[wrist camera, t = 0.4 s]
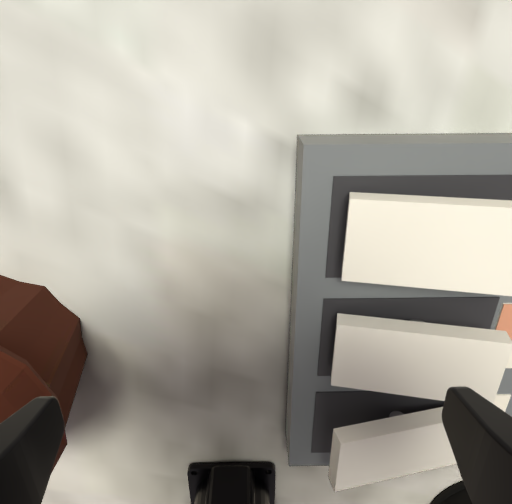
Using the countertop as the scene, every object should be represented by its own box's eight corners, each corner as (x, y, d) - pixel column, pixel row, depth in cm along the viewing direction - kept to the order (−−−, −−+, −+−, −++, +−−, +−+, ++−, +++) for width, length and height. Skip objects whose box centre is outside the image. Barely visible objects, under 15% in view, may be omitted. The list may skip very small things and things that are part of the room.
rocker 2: (482, 385, 21) (492, 407, 20) (331, 366, 23) (330, 385, 22) (502, 324, 20) (514, 344, 18) (337, 307, 21) (337, 324, 20)
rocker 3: (441, 442, 26) (456, 463, 24) (324, 468, 24) (334, 492, 23) (454, 396, 24) (472, 416, 23) (329, 421, 22) (340, 444, 21)
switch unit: (479, 431, 29) (499, 464, 27) (285, 434, 29) (289, 468, 26) (580, 132, 20) (625, 142, 17) (297, 134, 20) (304, 145, 17)
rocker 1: (516, 280, 19) (529, 297, 17) (341, 266, 20) (341, 280, 19) (543, 198, 17) (560, 210, 16) (349, 188, 18) (349, 198, 17)
